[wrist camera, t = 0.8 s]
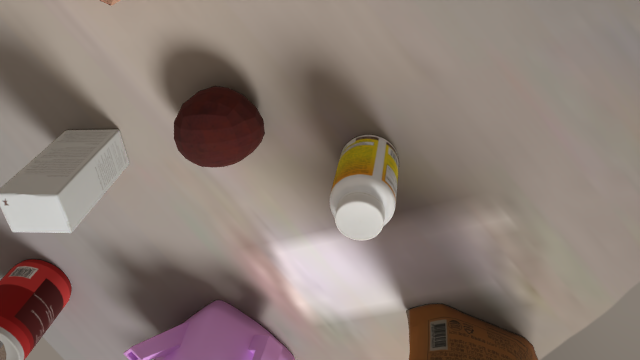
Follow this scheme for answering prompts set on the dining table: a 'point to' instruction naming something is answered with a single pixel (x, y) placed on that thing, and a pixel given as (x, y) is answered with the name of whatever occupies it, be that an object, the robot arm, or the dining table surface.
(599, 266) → the dining table surface
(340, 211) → the supplement bottle
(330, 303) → the dining table surface
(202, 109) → the potato
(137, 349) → the teakettle
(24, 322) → the canned food
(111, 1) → the tray
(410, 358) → the pancake mix bag
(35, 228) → the skincare box
